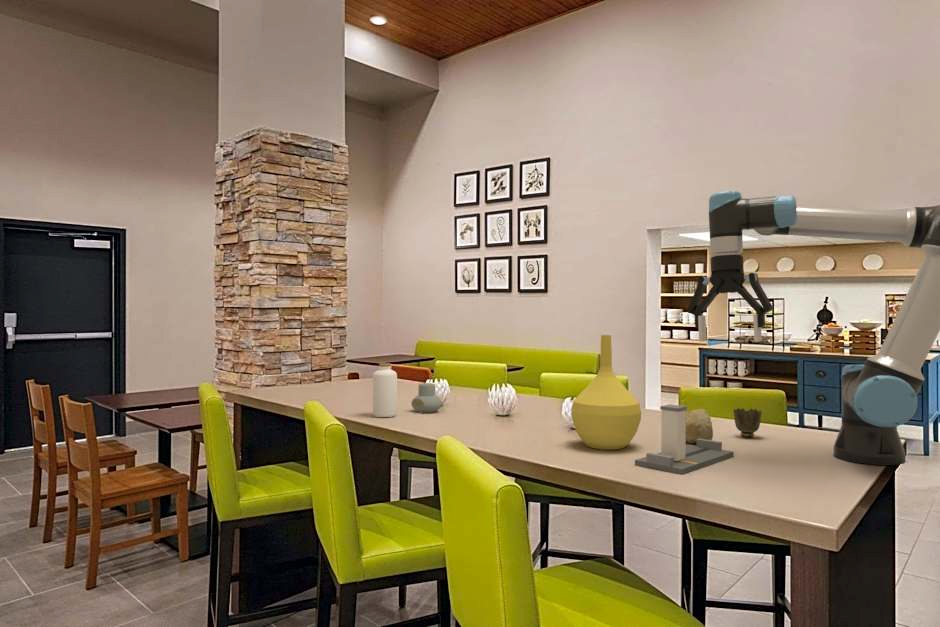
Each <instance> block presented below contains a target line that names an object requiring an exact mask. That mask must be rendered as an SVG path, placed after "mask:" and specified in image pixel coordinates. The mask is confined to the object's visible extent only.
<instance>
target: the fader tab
mask: <svg viewBox="0 0 940 627" xmlns="http://www.w3.org/2000/svg"><path fill="white" fill-rule="evenodd" d="M659 407H660V408H659V410H661V428H660V429H661V438H660V440H661V452H660V453H661V455H666V456H672V457H674V461H679V460H682V459H685V446H686V445H687V444H686V443H687V442H686V412H687V411H688V406H686V405H678V404H670V403H669V404H666V405H665V404H664V405H660V406H659Z"/></svg>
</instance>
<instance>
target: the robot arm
mask: <svg viewBox="0 0 940 627" xmlns="http://www.w3.org/2000/svg"><path fill="white" fill-rule="evenodd" d="M708 223H709V227H708V228H709V254H710V255H712V256H711V258H710V272H711V273H710V276H708V277H707V276H703V275H702V276H699V277H698V281H697V287H696V289H695V291H694V293H693V295H692V299H691V300H690V302H689V304H688V307H687V309H686V312H687V313H688V314H692V315H693V316H694V327H695V329H698V342H701V343H703V342H707V321H706V320H707V319H706V318H707V317H706V315H704V313H705V311H706V310H707V309H708V307H710V305H711V304H712V303H713V301H714V300H715V299H716V297H717V296H718V295H719V294H727V293H731V294H736V293H737V294H739V295H740V296H741V297H742V299H744V300H745V302H746V303H747V304H748V305H749V306H750V307H751V308H752V309H753V310H754V312H755V313H754V314H753V316H752V317H753V318H752V320H753V340H754V341H753V342H758V343H759V342H762V340H763V339H762V338H763V337H762V328H765V327H766V313H768V312H771V311H773V310H774V307H773V304H772V303H771V300H769V298H768V296H767V294H766V293H765V292H766V291H764V289H763V287H762V285H761V284H760V282H759V276H758V274H757V273H756V272H750V273H748V274H745V272H744V270H745V268H744V256H743V255H742V253H743V252H744V246H743V230H744V231H745V230H746V231H748V230H754V231H755V232H756V233H757V234H758V235H761V236H772V235H777V236H780V235H781V236H798V237H813V238H827V239H829V238H830V239H844V240H845V239H846V240H861V241H874V242H875V241H876V242H877V241H879V242H892V243H893V242H894V243H901V244H903V246H904V247H905V248H906V247H907V248H916V249H917V248H918V249H921V250H922V252H923V253H924V258H923V260H922V261H921V264H920V266H919V269H918V270H917V273H916V274H915V277H914V279H913V281H912V283H911V285H910V287H909V289H908V290H907V293H906V296H905V297H904V299H903V302H902V303H901V306H900V308H899V310H898V311H897V314H896V316H895V318H894V320H893V322H892V324H891V326H890V328H889V330H888V333H887V335H886V337H885V339H884V341H883V342H882V344H881V346H880V349H879V352H878V353H877V354H876V355H875V354H874V355H872V356H869V357H867V358H866V361H865V363H864V364H847V365H844V366H843V367H842V369H841V370H842V371H841V376H840V378H841V425H840V428H839V431H838V433H837V436H836V440H835V441H834V443H833V444H834V445H833V456H834V457H836V458H837V459H840V460H844V461H848V462H852V463H858V464H866V465H873V466H874V465H879V466H898V465H900V466H901V465H903V464H905V463H906V452H905V448H904V445H903V442H902V440H901V437H900V435H899V434H900V433H899V432H898V431H899V430H898V426H902V425H904V424H905V423H907V422H908V421H910V420H911V419H912V418H913V416H914V414H916V411H917V410H918V409H917V408H918V394H919V393H920V390H921V388H922V386H923V384H924V382H925V377H924V375H923V373H922V370H921V369H922V366H923V365H924V363H925V362H926V359H927V357H928V355H929V353H930V351H931V350H932V349H931V348H932V346H934V343H935V341H936V339H937V337H938V335H939V333H940V204H938V205H932V206H911V207H910V208H908V209H907V210H896V209H894V210H893V209H874V208H873V209H871V208H853V207H851V208H850V207H849V208H848V207H830V206H828V207H827V206H809V205H807V206H806V205H805V206H803V205H797V198H796V197H795V196H794V195H791V194H788V195H786V194H785V195H781V194H778V195H773V196H765V197H755V198H752V197H751V198H743V197H742V193H741V191H737V190H723V191H718V192H714V193H712V194H711V195H710V196H709V198H708ZM745 281H747V283H749V284H750V286H751V288H752V290H753V291H754V294H755V295H756V297H757V299H758V301H759V302H760V303H759V302H758V301H757V299H755V297H754V296H752V294H751V293H750V292H749V291H748V289H747V288H746V287H745V285H744V283H745ZM709 284H711V285H712V287H711V288H710V289H709V291H708V293H707V294H706V296H705V297H704V299H703V300H702V298H703V296H704V293H705V292H706V289H707V286H708V285H709ZM701 300H702V301H701Z"/></svg>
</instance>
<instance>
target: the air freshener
mask: <svg viewBox="0 0 940 627" xmlns="http://www.w3.org/2000/svg"><path fill="white" fill-rule="evenodd" d="M442 405H443V401H442V399H441V398H440V397H439V396H437V395H436V384H435V383H432V382H431V383H429V382H428V383H427V382H424V383H422V382H421V383H419V384H418V395H416V396H415V397H414V398H413V399H412V400H411V407H412V409H413V410H414V411H416V412H418V413H419V412H432V413H436V412H437V411H439V410H440V409H441V408H442Z"/></svg>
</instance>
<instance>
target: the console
mask: <svg viewBox="0 0 940 627" xmlns="http://www.w3.org/2000/svg"><path fill="white" fill-rule="evenodd" d="M645 455H646V456H643V457H641V458H638V459H634V465H635V466H637V467H642V468H647V469H653V470H657V471H662V472H668V473H673V474H678V475H685V474H688V473H690V472H693V471H696V470H699V469H702V468H705V467H707V466H708V467H709V466H711V465H713V464H716V463H719V462H722V461H725V460H727V459H731V458H734V451H733V450H732V451H731V450H726V449H723V441H718V440H713V439H712V440H706V439H700V438H699V439H697V443H696V445H695V444H694V445H693V444H690V443H688V444H686V446H685V459H682V460H679V461H674V457H672V456H666V455H661V452H658V453H655V452H647V453H646V454H645Z"/></svg>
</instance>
